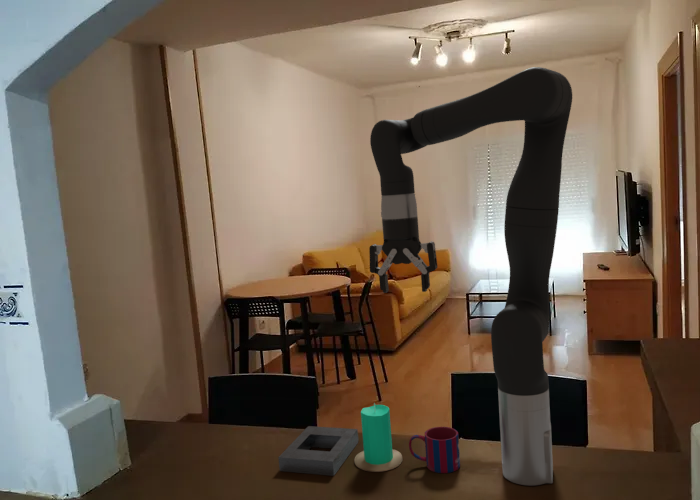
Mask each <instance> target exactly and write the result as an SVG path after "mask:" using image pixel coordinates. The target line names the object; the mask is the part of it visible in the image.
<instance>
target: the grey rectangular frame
mask: <svg viewBox="0 0 700 500" xmlns="http://www.w3.org/2000/svg"><path fill="white" fill-rule="evenodd" d="M358 443H359V431H358V428H345V427H328V426H327V427H326V426H312V425H308V426H307V427H306V428H305V429H304V430H303V431H302V432H301V433H300V434H299V435H298V436H297V437H296V439H294V440H293V442H291V443H290V444H289V445H288V446H287V448H286V449H285V450H284V451H283V452H282V453H280V455H279V456H278V467H279V472H286V473H296V474H297V473H298V474H309V475H311V474H312V475H319V476H320V475H321V476H331V477H335V476H336V473H337V472H338V471H339V469H340V468H341V467H342V466H343V464H344V462H346V460H347V459H348V457H349V456H350V454H352V452H353V450H354V449H355V448H356V446H357V445H358ZM318 447H319V448H321V449H331V450H330V451H328V450H327V451H326V450H316V449H315V450H313V449H311V448H317V449H318ZM310 449H311V450H310Z"/></svg>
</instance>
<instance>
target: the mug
mask: <svg viewBox="0 0 700 500" xmlns="http://www.w3.org/2000/svg"><path fill="white" fill-rule="evenodd" d="M414 439H419V440H421V441H423V442H424V449H425V450H424V451H425V456H422V455H418V454H417V453H415V451H414V450H413V448H412V447H413V446H412V442H413V440H414ZM459 440H460V439H459V432H458V430H456V429H455V428H453V427H450V426H449V427H448V426H435V427H434V426H433V427H431V428H429V429H427V430H426V431H424V435H422V434H414V435H412V436H411V437H410V439H409V442H408V449H409V453H410V454H411V455H412V457H414V458H415V459H417V460H419V461H422V462H425V463H426V467H427V469H428V470H429V471H431V472H433V473H437V474H450V473H453V472H455V471H457V470H459V469H460V468H461V458H460V441H459Z"/></svg>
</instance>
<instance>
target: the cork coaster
mask: <svg viewBox="0 0 700 500" xmlns="http://www.w3.org/2000/svg"><path fill="white" fill-rule="evenodd" d="M392 450H393V459H392V460H391V461H390V462H388V463H386V464H380V465H375V464H369V463H367V462H366V461H365V459H364V450H362V451H361V452H358V453H357V454H356V455H355V457H354V465H355V466H356V467H357V468H358V469H360V470H362V471H366V472H373V473H379V472H386V471H390V470H394V469H395V468H398V467H399V466H400V465H401V464H402V463H403V455H402V453H401V452H400V451H398V450H396V449H393V448H392Z"/></svg>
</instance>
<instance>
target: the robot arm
mask: <svg viewBox="0 0 700 500" xmlns="http://www.w3.org/2000/svg"><path fill="white" fill-rule="evenodd" d="M572 103H573V89H572V85H571V83H570V81H569V80H568V79H567V77H566V76H565V75H563V74H562V73H560V72H558V71H556V70H552V69H549V68H546V67H540V66H537V67H536V66H535V67H529V68H527V69H524V70H522V71H519V72H517V73H515V74H514V75H511V76H509V77H508V78H506V79H504V80H502V81H500V82H498V83H496V84H494V85H492V86H490V87H487V88H486V89H483V90H481V91H479V92H476V93H473V94H471V95H468V96H466V97H462V98H459V99H456V100H453V101H449V102H445V103H442V104H438V105H435V106H433V107H430V108H426V109H422V110H421V111H418V112H417V113H416V114H415V115H414V116H413V117H411V118H406V119H401V120H398V119H397V120H396V119H382V120H379V121H378V122H376V123H375V124H374V125H373V128H372V129H371V132H370V141H369V142H370V143H369V144H370V149H371V153H372V156H373V159H374V163H375V166H376V168H377V171H378V174H379V177H380V178H379V179H380V192H381V193H380V195H381V198H380V199H381V201H380V203H381V204H380V209H381V210H380V217H381V223H382V236H383V238H382V239H383V242H382V244H376V243H374V244H371V245H370V246H369V272H370V273H371V274H375V275H378V278H379V289H380V290H381V291H382V293H384V294H385V293H388V292H389V290H390V289H389V277H388V273H387V271H388V270H389V269H390V267H391V266H392V265H393V264H394V265H400V264H404V265H410V264H413V266H415V268H417V269H418V270H419V272H421V274H420V278H421V279H420V280H421V292H422V293H426V292H427V291H428V289H430V286H431V283H430V281H431V280H430V273H431V272H433V271H436V270H437V269H438V259H437V251H436V243H435V241H433V240H432V241H430V242H424V243H423V242H421V240H420V231H419V219H418V218H419V217H418V215H419V214H418V203H417V198H416V193H415V181H414V180H415V178H414V171H413V169H412V167H411V166H408V165H406V164H405V163H404V160H403V157H402V155H403V154H404V155H405V154H408V153H412V152H416V151H418V150H420V149H423V148H425V147H427V146H431V145H432V146H433V145H437V144H441V143H444V142H448V141H451V140H454V139H455V140H456V139H457V138H461V137H463V136H466V135H468V134H470V133H472V132H474V131H476V130H477V129H480V128H483V127H486V126H489V125H493V124H498V123H505V122H516V121H524V137H523V138H524V140H523V148H522V152H521V153H522V154H521V157H520V160H519V162H518V165H517V168H516V170H515V172H514V175H513V177H512V180H511V182H510V185H509V188H508V191H507V194H506V201H505V213H504V243H505V249H506V253H507V258H508V259H507V260H508V264H509V266H508V267H509V280H508V281H509V282H508V290H507V295H506V296H507V297H506V301H505V305H504V308H503V309H501V310H500V311H499V312H498V313H497V314H496V315H495V317H493V320H492V323H491V328H490V339H491V340H490V341H491V352H492V353H491V354H492V355H491V356H492V363H493V373H494V375H495V377H496V379H497V391H498V392H497V394H498V413H499V430H500V448H501V449H500V450H501V467H502V476H503V477H504V479H506V480H508V481H510V482H511V483H514V484H517V485H522V486H541V485H544V484H553V483H554V481H553V480H554V477H553V475H554V463H553V462H554V461H553V442H552V423H551V409H550V385H549V384H550V383H549V374H548V373H547V371H546V369H545V362H544V349H543V345H544V343H543V342H544V341H545V339H546V338H547V336H548V335H549V331H550V291H549V290H550V274H551V268H552V263H553V257H554V252H555V251H554V250H555V244H556V238H557V229H558V228H557V227H558V222H559V221H558V220H559V209H560V192H561V191H560V190H561V180H562V165H563V151H564V145H565V138H566V134H567V133H566V132H567V130H568V129H567V128H568V124H569V118H570V114H571V109H572ZM422 249H423V251H424V253H426V254H427V257H428V264H429V265H427V264H426V263H425V262H424V260H423V258H421V256H420V252H421V250H422ZM382 252H383V254H384V255H385V256H386V258H385V259H384V261H383V263H382V265H381V266H380V267H379V255H380V254H381V253H382Z"/></svg>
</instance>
